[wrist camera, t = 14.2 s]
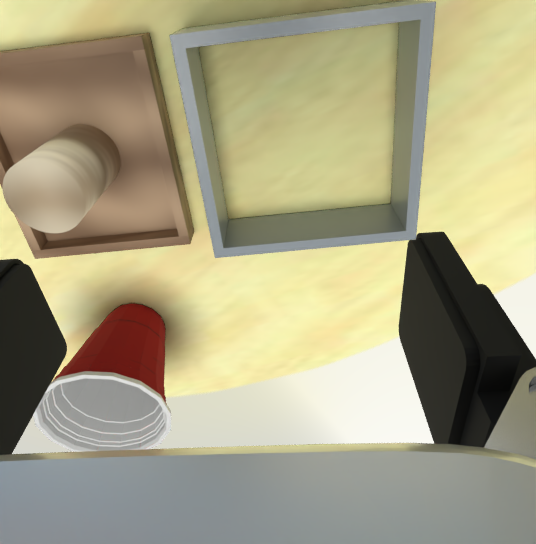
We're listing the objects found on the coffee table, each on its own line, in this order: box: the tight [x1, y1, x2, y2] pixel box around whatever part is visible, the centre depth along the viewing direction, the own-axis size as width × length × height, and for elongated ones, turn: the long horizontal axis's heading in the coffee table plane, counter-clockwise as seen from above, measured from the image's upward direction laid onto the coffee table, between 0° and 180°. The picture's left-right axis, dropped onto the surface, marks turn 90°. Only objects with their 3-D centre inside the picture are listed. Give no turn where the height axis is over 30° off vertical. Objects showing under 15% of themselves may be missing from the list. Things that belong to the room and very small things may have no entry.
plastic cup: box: [33, 303, 171, 452], centre depth 40 cm, size 11×11×12 cm
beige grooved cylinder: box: [3, 124, 121, 233], centre depth 31 cm, size 5×5×8 cm
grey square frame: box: [170, 0, 436, 258], centre depth 32 cm, size 16×16×5 cm
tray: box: [0, 33, 194, 259], centre depth 34 cm, size 16×14×2 cm
